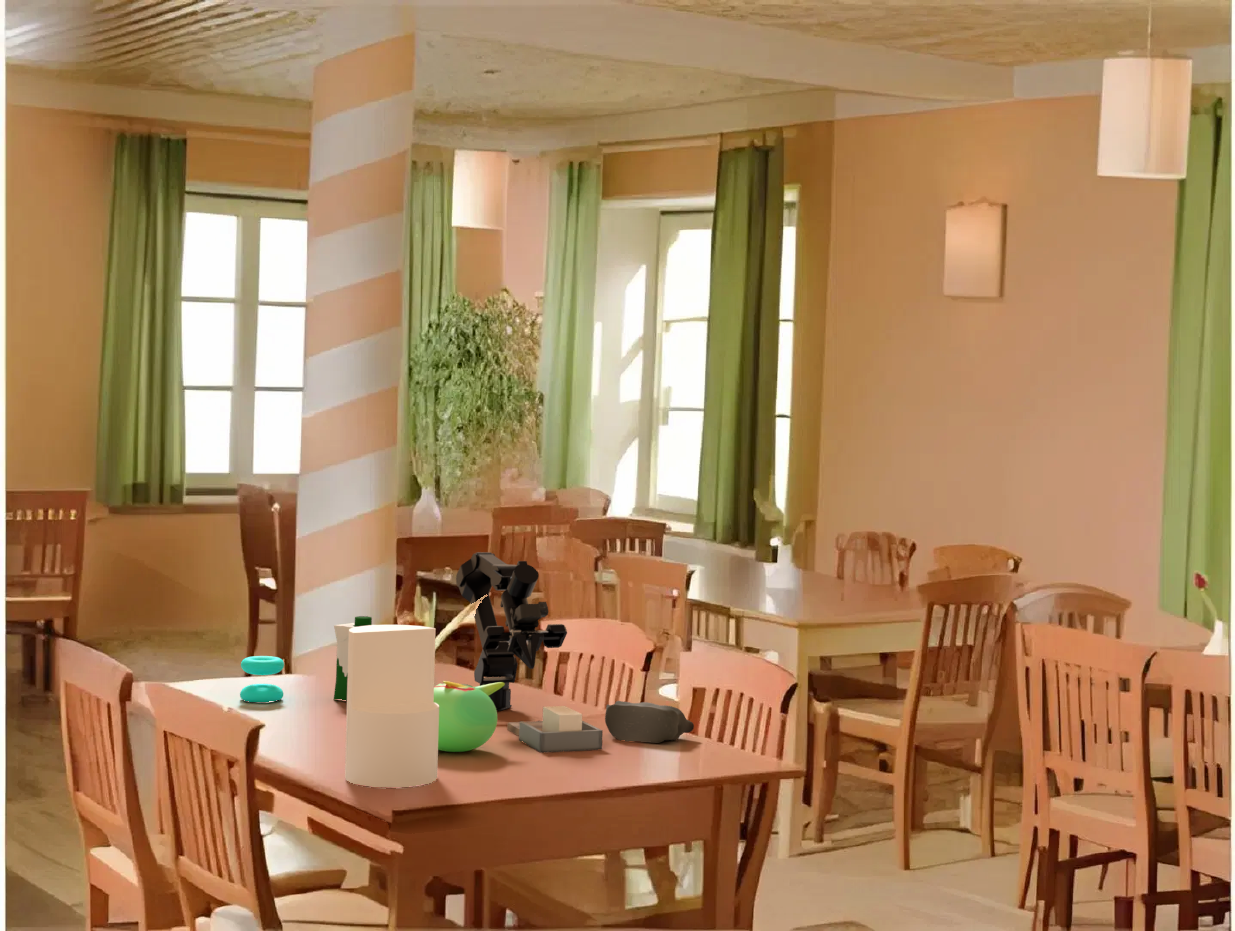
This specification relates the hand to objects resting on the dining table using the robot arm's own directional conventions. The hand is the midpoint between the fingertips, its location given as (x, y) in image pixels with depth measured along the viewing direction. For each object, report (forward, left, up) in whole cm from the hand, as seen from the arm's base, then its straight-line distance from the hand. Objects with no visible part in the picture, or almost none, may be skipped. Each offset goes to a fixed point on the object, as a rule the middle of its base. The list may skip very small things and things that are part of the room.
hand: (532, 667), depth 371 cm
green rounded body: (-3, -30, -14) cm, 33 cm away
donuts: (-69, -2, -14) cm, 70 cm away
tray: (+13, -13, -13) cm, 23 cm away
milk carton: (-51, +10, -14) cm, 54 cm away
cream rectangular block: (+10, -10, -10) cm, 17 cm away
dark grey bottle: (+26, +3, -14) cm, 30 cm away
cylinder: (-1, -59, -14) cm, 61 cm away
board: (+4, -5, -13) cm, 15 cm away
